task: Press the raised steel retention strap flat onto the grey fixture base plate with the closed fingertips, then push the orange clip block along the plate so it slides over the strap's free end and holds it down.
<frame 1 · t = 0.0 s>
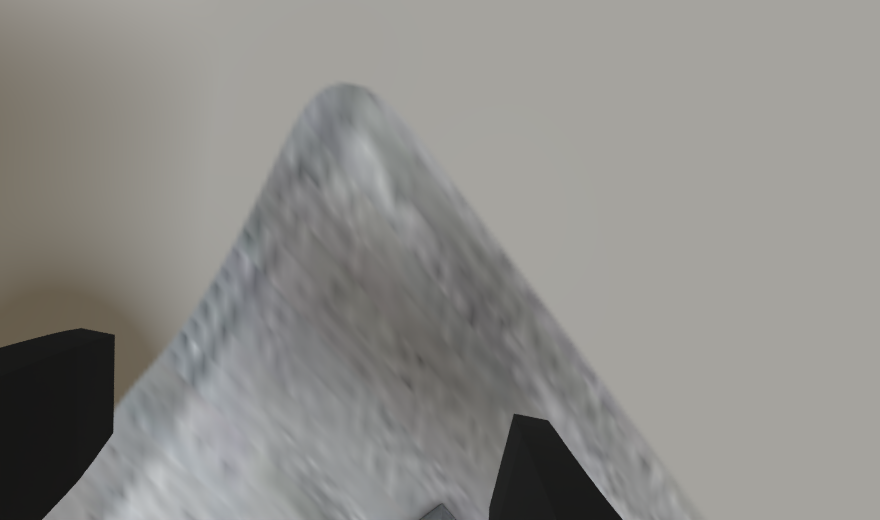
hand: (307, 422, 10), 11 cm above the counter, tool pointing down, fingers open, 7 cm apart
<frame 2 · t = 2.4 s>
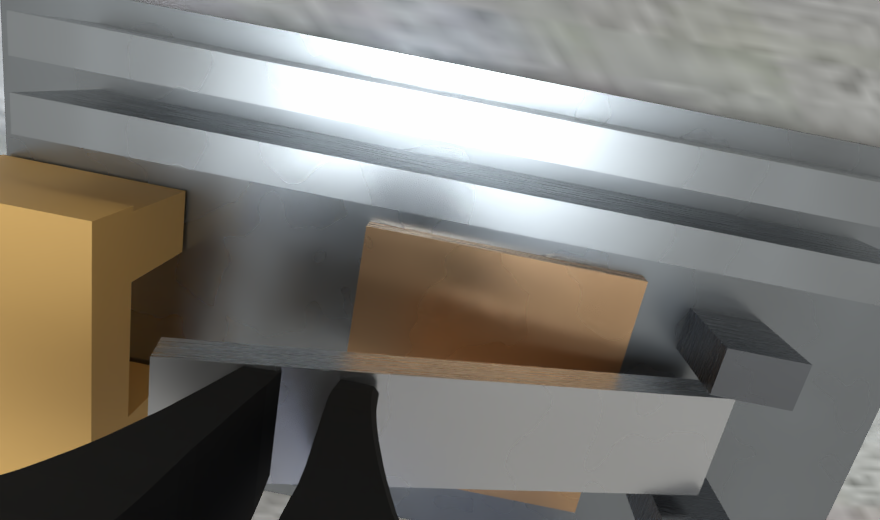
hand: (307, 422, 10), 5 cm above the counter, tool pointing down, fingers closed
grey fixture base plate: (447, 292, 15), on the counter
strap: (460, 425, 11), point 4 cm above the counter, hinge at 14.0°, touching gripper
clip: (44, 324, 12), point 4 cm above the counter, slide at 0.0 cm
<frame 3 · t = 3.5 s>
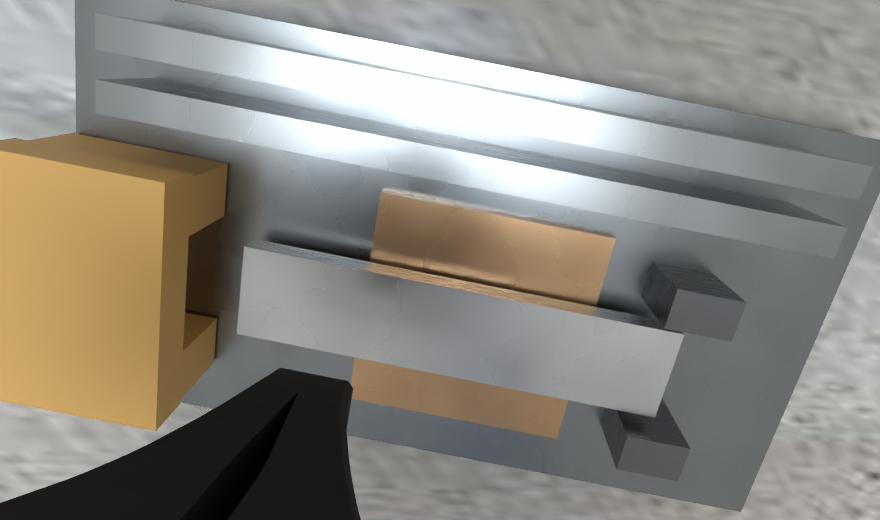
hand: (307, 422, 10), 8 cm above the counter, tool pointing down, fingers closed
grey fixture base plate: (448, 253, 18), on the counter
strap: (454, 328, 15), point 3 cm above the counter, hinge at -0.5°
clip: (113, 274, 14), point 4 cm above the counter, slide at 0.0 cm
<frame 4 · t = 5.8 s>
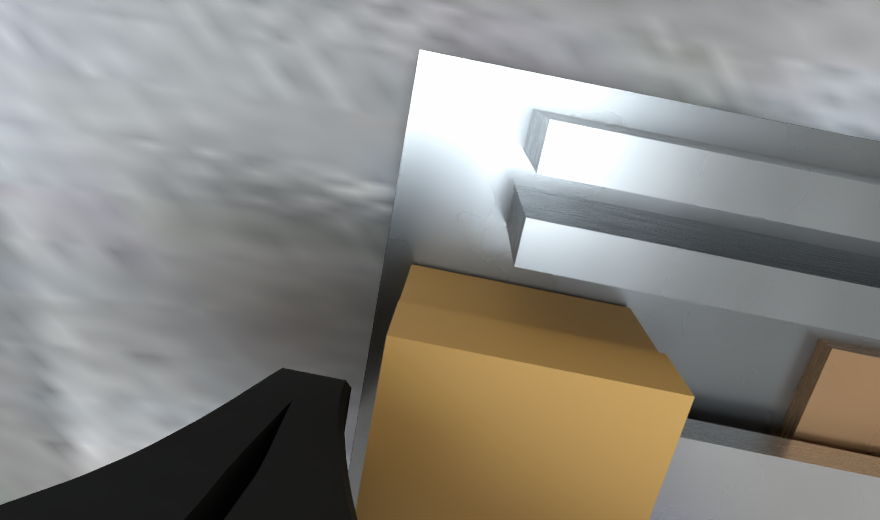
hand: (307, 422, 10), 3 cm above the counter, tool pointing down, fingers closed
grey fixture base plate: (822, 397, 13), on the counter
clip: (488, 476, 10), point 4 cm above the counter, slide at 0.5 cm, touching gripper
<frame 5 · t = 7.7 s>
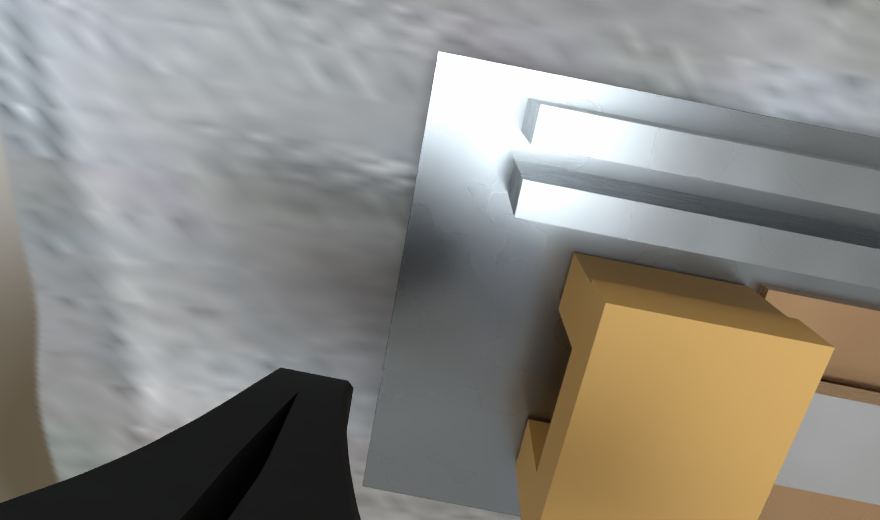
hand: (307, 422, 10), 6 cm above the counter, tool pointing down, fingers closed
grey fixture base plate: (771, 340, 16), on the counter
strap: (840, 441, 13), point 3 cm above the counter, hinge at -0.5°
clip: (643, 420, 12), point 4 cm above the counter, slide at 3.7 cm
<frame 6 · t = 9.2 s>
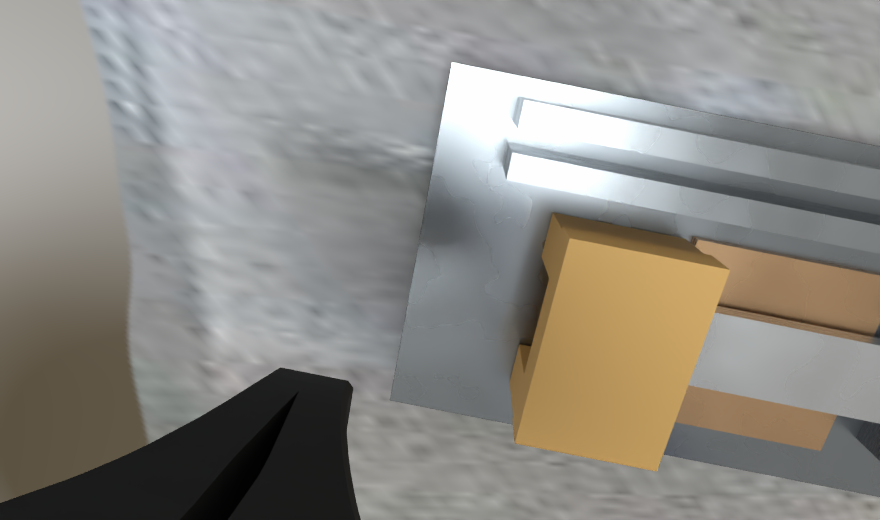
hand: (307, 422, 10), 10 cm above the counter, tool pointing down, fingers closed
grey fixture base plate: (711, 287, 20), on the counter
strap: (754, 355, 17), point 3 cm above the counter, hinge at -0.5°
clip: (603, 335, 17), point 4 cm above the counter, slide at 3.7 cm
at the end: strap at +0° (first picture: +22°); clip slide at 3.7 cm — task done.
